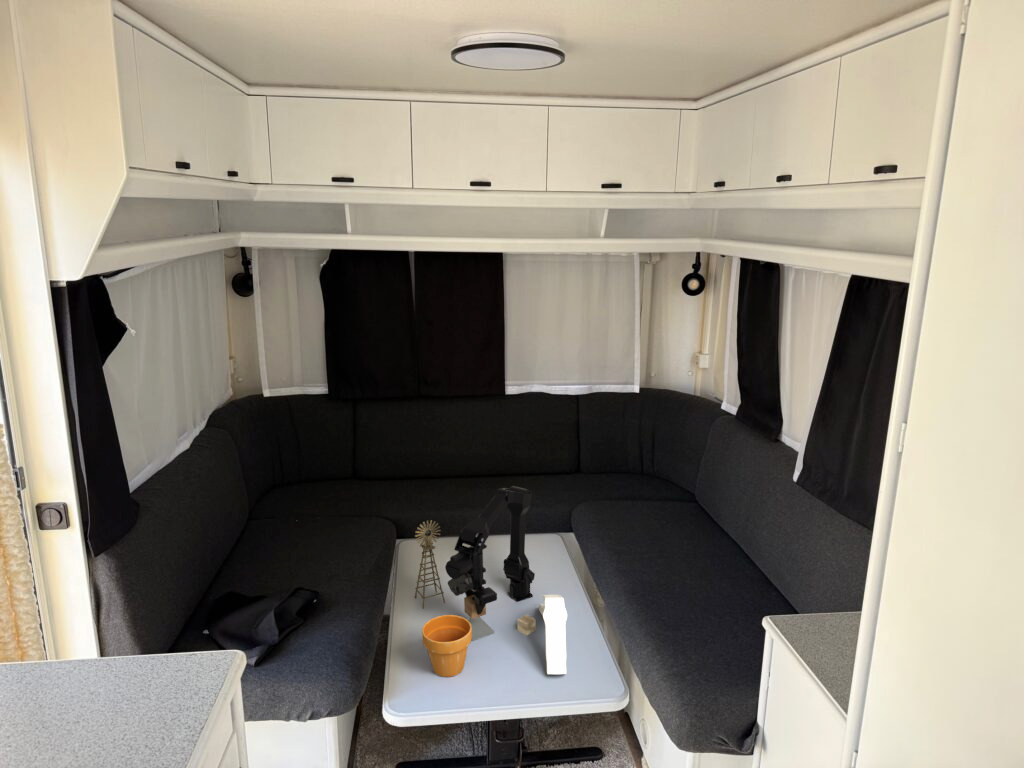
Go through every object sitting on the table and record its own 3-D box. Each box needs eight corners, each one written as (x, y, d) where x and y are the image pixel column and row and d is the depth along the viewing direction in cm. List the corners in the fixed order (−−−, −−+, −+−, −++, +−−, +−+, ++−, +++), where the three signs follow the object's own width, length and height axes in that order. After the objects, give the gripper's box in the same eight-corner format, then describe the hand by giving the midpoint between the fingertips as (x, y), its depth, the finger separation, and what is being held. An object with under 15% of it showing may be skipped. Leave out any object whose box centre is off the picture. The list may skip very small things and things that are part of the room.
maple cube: (526, 625, 223) (526, 614, 222) (535, 630, 220) (535, 619, 219) (517, 630, 220) (517, 619, 219) (526, 635, 218) (526, 624, 217)
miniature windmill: (421, 609, 233) (417, 526, 226) (413, 597, 240) (409, 517, 233) (446, 602, 237) (443, 521, 230) (437, 591, 244) (434, 512, 237)
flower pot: (415, 677, 198) (413, 636, 195) (437, 649, 211) (435, 610, 208) (460, 688, 193) (459, 646, 190) (480, 658, 206) (479, 619, 203)
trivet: (479, 618, 227) (479, 616, 227) (494, 633, 219) (494, 631, 219) (457, 625, 223) (457, 623, 223) (471, 641, 215) (471, 638, 215)
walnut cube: (478, 607, 223) (478, 593, 222) (485, 614, 219) (485, 600, 218) (464, 611, 221) (464, 597, 220) (471, 619, 216) (471, 604, 215)
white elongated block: (560, 656, 228) (558, 591, 233) (569, 674, 195) (566, 597, 200) (539, 657, 228) (538, 591, 232) (544, 674, 195) (542, 598, 200)
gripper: (437, 559, 220) (439, 604, 223) (464, 585, 204) (466, 632, 208) (468, 551, 225) (470, 594, 229) (497, 575, 210) (498, 621, 213)
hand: (475, 610), depth 220 cm, fingers closed on walnut cube, 5 cm apart
